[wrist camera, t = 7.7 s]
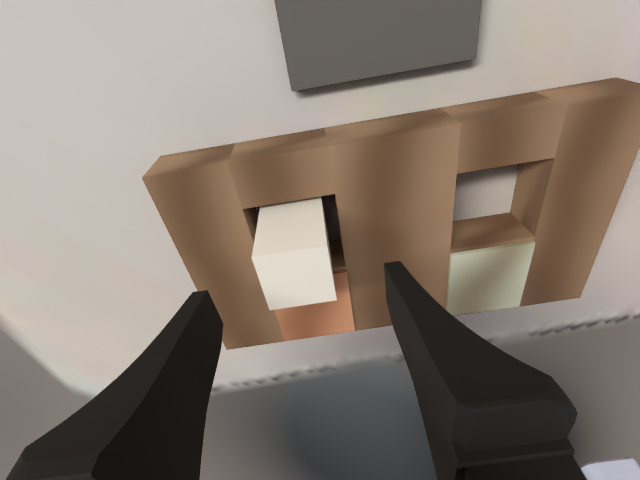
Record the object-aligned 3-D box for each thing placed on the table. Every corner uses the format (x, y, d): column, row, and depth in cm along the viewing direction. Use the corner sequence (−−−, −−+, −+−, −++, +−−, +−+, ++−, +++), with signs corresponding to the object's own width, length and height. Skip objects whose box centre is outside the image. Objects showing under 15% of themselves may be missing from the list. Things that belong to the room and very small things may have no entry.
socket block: (615, 77, 16) (667, 90, 14) (554, 270, 23) (582, 299, 21) (160, 156, 17) (140, 179, 15) (232, 319, 24) (226, 352, 22)
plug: (318, 178, 18) (327, 245, 13) (326, 225, 20) (336, 300, 15) (263, 188, 18) (251, 257, 13) (275, 233, 20) (269, 310, 15)
